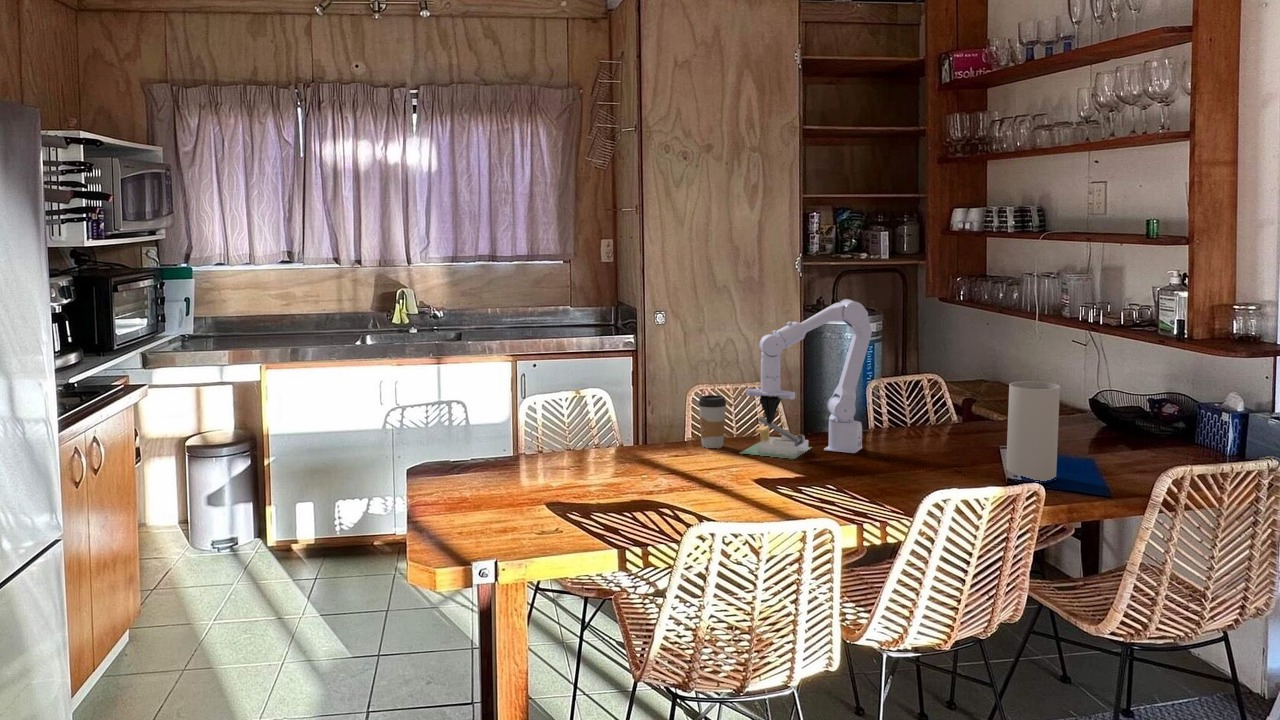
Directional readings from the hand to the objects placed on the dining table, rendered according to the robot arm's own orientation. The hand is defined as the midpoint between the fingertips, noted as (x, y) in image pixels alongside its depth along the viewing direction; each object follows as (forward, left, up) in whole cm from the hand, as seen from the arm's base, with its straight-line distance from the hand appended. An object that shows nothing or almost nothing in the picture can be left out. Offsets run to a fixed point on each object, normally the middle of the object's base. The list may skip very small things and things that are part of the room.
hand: (770, 421), depth 340 cm
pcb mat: (-2, -1, -9) cm, 9 cm away
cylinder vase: (-74, +2, -9) cm, 74 cm away
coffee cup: (+18, +1, -9) cm, 20 cm away
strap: (-3, 0, -3) cm, 4 cm away
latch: (+4, -4, -8) cm, 10 cm away
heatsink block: (-4, 0, -8) cm, 9 cm away
